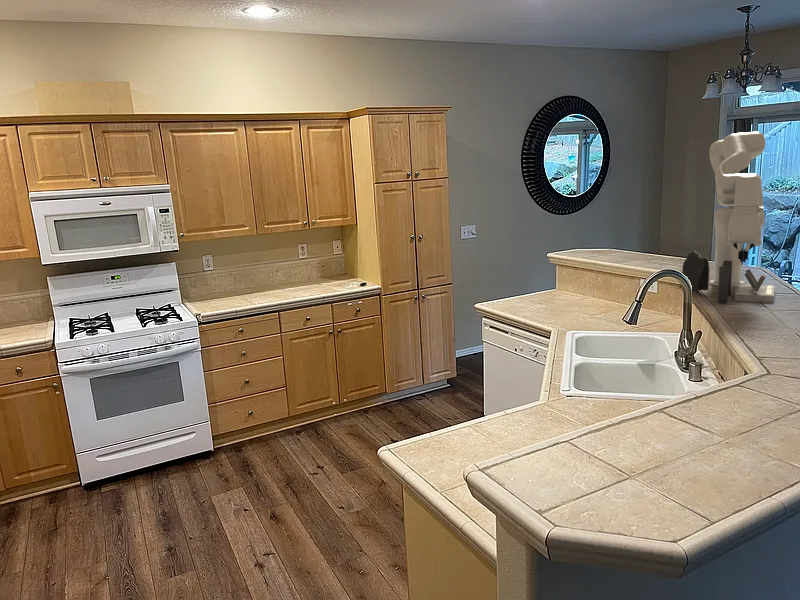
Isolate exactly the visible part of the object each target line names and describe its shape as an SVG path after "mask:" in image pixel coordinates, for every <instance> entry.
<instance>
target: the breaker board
mask: <svg viewBox="0 0 800 600" xmlns="http://www.w3.org/2000/svg"><path fill="white" fill-rule="evenodd" d="M775 291H776V285H764V284H762V285H761V286H760V288H759V290H758V291H757V292H756V294H753V288H752V286H751V285H750V284H744V285H738V286H737V287H736V290H735V293H734V302H747V303H748V302H751V303H768V304H773V303H775V302H774V301H775Z"/></svg>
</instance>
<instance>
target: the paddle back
mask: <svg viewBox="0 0 800 600" xmlns="http://www.w3.org/2000/svg"><path fill="white" fill-rule="evenodd" d="M747 272H749V273H750V275H751V277H752V278H753V280H754V281H755V283H756V284H757V282H758V280H757V279H756V277H755V276H754V274H753V272H752V270H751V269H747V270H745V273H747Z"/></svg>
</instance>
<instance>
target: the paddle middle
mask: <svg viewBox="0 0 800 600" xmlns="http://www.w3.org/2000/svg"><path fill="white" fill-rule="evenodd" d="M743 276H745V278H746V279H747V281H748V283H749V285H751V286H752V288H753V289H754V287H755V285H756V283H755V281H754V280H753V278H752V277H751V275H750V273H749V272H747V273H746V272H745V273H744V275H743Z"/></svg>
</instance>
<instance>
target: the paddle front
mask: <svg viewBox="0 0 800 600" xmlns="http://www.w3.org/2000/svg"><path fill="white" fill-rule="evenodd" d="M766 278H767V276H765V275H764V274H761V276H760V277H759V279H758V280H757V284H756V285H755V287H754V289H753V294H756V292H757V291H758V290H759V288H760V286H761V285H763V283H764V281H765V280H766Z"/></svg>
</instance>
